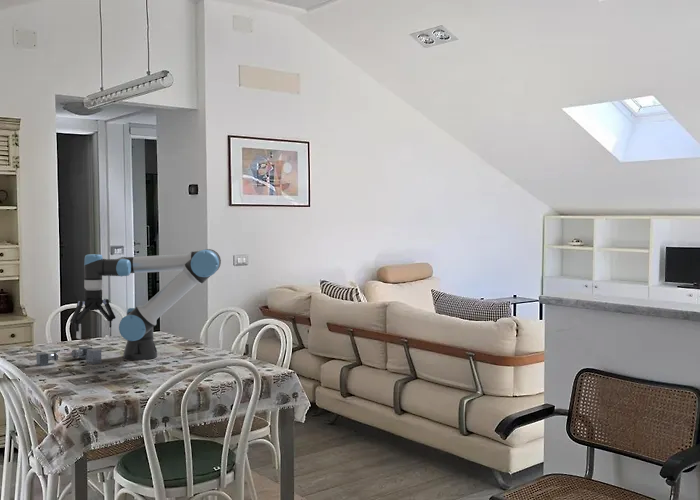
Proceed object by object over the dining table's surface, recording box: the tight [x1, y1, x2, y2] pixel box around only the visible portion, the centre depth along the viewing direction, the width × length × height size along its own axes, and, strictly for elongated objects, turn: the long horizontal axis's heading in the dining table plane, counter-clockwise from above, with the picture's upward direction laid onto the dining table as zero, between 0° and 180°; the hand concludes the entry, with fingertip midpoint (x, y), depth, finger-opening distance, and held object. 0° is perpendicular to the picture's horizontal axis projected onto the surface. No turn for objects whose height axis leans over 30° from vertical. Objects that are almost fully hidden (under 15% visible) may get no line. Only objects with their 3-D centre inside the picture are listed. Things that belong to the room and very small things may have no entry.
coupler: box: [86, 347, 102, 365], centre depth 320 cm, size 6×4×6 cm
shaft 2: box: [71, 346, 93, 360], centre depth 328 cm, size 8×5×5 cm, turn 146°
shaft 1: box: [35, 351, 59, 367], centre depth 316 cm, size 8×5×5 cm, turn 130°
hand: (93, 336), depth 319 cm, fingers open, 13 cm apart
